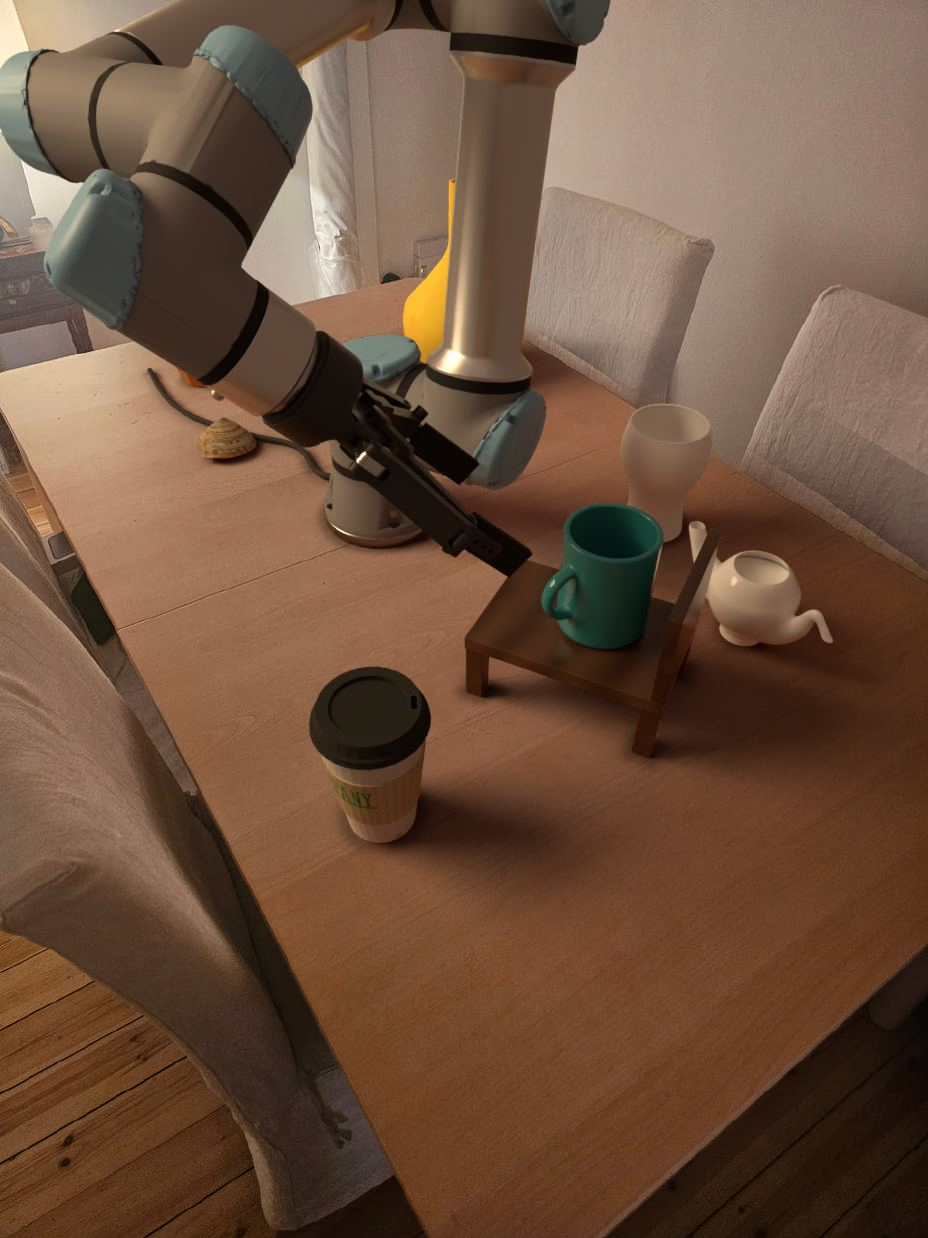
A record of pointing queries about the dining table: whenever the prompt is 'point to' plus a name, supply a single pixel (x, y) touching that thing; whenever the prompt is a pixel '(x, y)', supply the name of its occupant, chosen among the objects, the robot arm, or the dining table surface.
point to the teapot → (756, 597)
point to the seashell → (225, 440)
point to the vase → (429, 301)
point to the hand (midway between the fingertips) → (492, 515)
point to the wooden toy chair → (620, 674)
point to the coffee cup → (373, 748)
